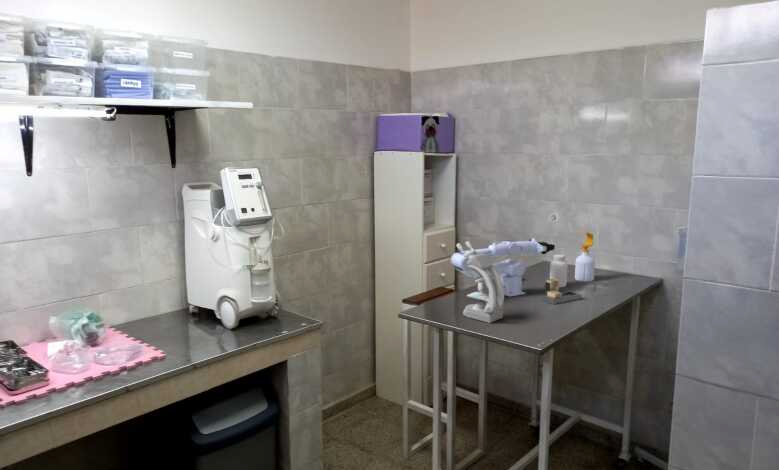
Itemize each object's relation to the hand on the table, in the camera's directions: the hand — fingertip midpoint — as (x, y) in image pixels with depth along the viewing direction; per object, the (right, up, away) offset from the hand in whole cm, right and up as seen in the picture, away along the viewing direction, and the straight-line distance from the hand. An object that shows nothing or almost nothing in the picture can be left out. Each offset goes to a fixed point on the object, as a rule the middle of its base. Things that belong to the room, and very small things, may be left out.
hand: (548, 246), depth 263 cm
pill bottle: (+7, -20, +7) cm, 22 cm away
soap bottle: (+23, -17, +17) cm, 34 cm away
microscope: (-39, -28, -36) cm, 60 cm away
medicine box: (-17, -18, +18) cm, 31 cm away
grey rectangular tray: (+1, -24, -16) cm, 28 cm away
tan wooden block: (0, -22, -4) cm, 22 cm away
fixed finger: (-2, -23, -18) cm, 29 cm away
